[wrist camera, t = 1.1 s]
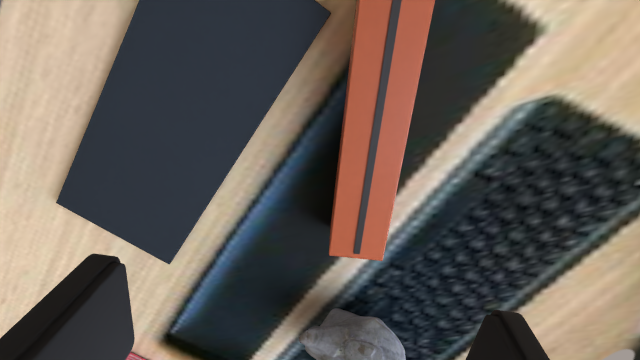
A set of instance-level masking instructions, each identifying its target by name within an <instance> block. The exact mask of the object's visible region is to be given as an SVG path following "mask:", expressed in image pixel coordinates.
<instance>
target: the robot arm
mask: <svg viewBox="0 0 640 360" xmlns="http://www.w3.org/2000/svg"><path fill="white" fill-rule="evenodd" d="M133 344H134V330H133V322H132V314H131V306H130V298H129V290H128V282H127V274H126V267H125V265H124V264H122V263H120V260H119V258H118V257H115V256H107V255H100V254H91V255H90V256H88V257H87V258H86V259H85V260H84V261H83V262H82V263H80V264H79V265H78V266H77V267H76V268H75V269H74V270H73V271H72V272H71V273H70V274H69V275H68V276H67V277H65V278H64V279H63V280H62V281H61V282H60V283H59V284H58V285H57V286H56V287H55V288H54V289H53V290H52V291H51V292H49V293H48V294H47V295H46V296H45V297H44V298H43V299H42V300H41V301H40V302H39V303H38V304H37V305H36V306H34V307H33V308H32V309H31V310H30V311H29V312H28V313H27V314H26V315H25V316H24V317H23V318H22V319H21V320H20V321H18V322H17V323H16V324H15V325H14V326H13V327H12V328H11V329H10V330H9V331H8V332H7V333H6V334H5V335H3V336H2V337H1V338H0V360H126V358H127V357H128V355H129V354H130V352H131V350H132V347H133ZM466 360H550V359H549V358H548V356H547V355H546V353H545V351H544V350H543V348H542V346H541V345H540V343H539V342H538V340H537V338H536V337H535V335H534V334H533V332H532V330H531V329H530V327H529V326H528V324H527V322H526V321H525V319H524V318H523V316H522V315H521V314H519V313H515V312H507V311H500V310H494V311H493V312H492V313H491V315H486V316H485V318H484V320H483V322H482V324H481V327H480V329H479V331H478V333H477V336H476V338H475V340H474V342H473V344H472V347H471V349H470V351H469V353H468V356H467V358H466Z"/></svg>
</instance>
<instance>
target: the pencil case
mask: <svg viewBox="0 0 640 360" xmlns="http://www.w3.org/2000/svg"><path fill="white" fill-rule="evenodd" d="M434 2H435V0H357V3H356V12H355V21H354V29H353V38H352V46H351V55H350V63H349V72H348V81H347V89H346V98H345V106H344V115H343V123H342V132H341V141H340V149H339V158H338V166H337V175H336V183H335V192H334V201H333V209H332V218H331V226H330V244H329V255H331V256H341V257H350V258H360V259H370V260H379V261H382V260H383V256H384V251H385V246H386V241H387V236H388V231H389V226H390V221H391V216H392V211H393V206H394V201H395V196H396V191H397V186H398V181H399V176H400V171H401V166H402V161H403V156H404V151H405V146H406V141H407V136H408V131H409V126H410V121H411V116H412V111H413V106H414V101H415V96H416V91H417V86H418V81H419V77H420V72H421V67H422V62H423V57H424V52H425V47H426V42H427V37H428V32H429V27H430V22H431V17H432V12H433V7H434Z"/></svg>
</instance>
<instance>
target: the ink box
mask: <svg viewBox="0 0 640 360" xmlns="http://www.w3.org/2000/svg"><path fill="white" fill-rule="evenodd" d="M126 360H146V359H144V358H142V357H140V356H138V355H135V354H133V353H131V352H130V354H129V355H128V357H127V358H126Z"/></svg>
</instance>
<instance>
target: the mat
mask: <svg viewBox="0 0 640 360" xmlns="http://www.w3.org/2000/svg"><path fill="white" fill-rule="evenodd" d="M330 14H331V13H330V12H329V11H328V10H326V9H325V8H324V7H323V6H321V5H320V4H319V3H317V2H316V1H315V0H139V3H138V5H137V7H136V10H135V12H134V15H133V17H132V20H131V22H130V25H129V27H128V29H127V32H126V34H125V37H124V39H123V42H122V44H121V46H120V49H119V51H118V54H117V56H116V59H115V61H114V63H113V66H112V68H111V71H110V73H109V76H108V78H107V80H106V83H105V85H104V88H103V90H102V93H101V95H100V97H99V100H98V102H97V105H96V107H95V110H94V112H93V114H92V117H91V119H90V122H89V124H88V127H87V129H86V132H85V134H84V136H83V139H82V141H81V144H80V146H79V149H78V151H77V153H76V156H75V158H74V161H73V163H72V166H71V168H70V170H69V173H68V175H67V178H66V180H65V183H64V185H63V187H62V190H61V192H60V195H59V197H58V200H57V202H56V203H57V204H59V205H61V206H63V207H65V208H66V209H68V210H70V211H72V212H74V213H76V214H77V215H79V216H81V217H83V218H85V219H87V220H88V221H90V222H92V223H94V224H96V225H98V226H100V227H101V228H103V229H105V230H107V231H109V232H111V233H112V234H114V235H116V236H118V237H120V238H122V239H123V240H125V241H127V242H129V243H131V244H133V245H134V246H136V247H138V248H140V249H142V250H144V251H146V252H147V253H149V254H151V255H153V256H155V257H157V258H158V259H160V260H162V261H164V262H166V263H168V264H170V263H171V261H172V260H173V258H174V257H175V255H176V254H177V252H178V251H179V249H180V247H181V246H182V244H183V243H184V241H185V240H186V238H187V237H188V235H189V233H190V232H191V230H192V229H193V227H194V226H195V224H196V223H197V221H198V219H199V218H200V216H201V215H202V213H203V212H204V210H205V209H206V207H207V205H208V204H209V202H210V201H211V199H212V198H213V196H214V195H215V193H216V191H217V190H218V188H219V187H220V185H221V184H222V182H223V181H224V179H225V177H226V176H227V174H228V173H229V171H230V170H231V168H232V166H233V165H234V163H235V162H236V160H237V159H238V157H239V156H240V154H241V152H242V151H243V149H244V148H245V146H246V145H247V143H248V142H249V140H250V138H251V137H252V135H253V134H254V132H255V131H256V129H257V128H258V126H259V124H260V123H261V121H262V120H263V118H264V117H265V115H266V114H267V112H268V110H269V109H270V107H271V106H272V104H273V103H274V101H275V100H276V98H277V96H278V95H279V93H280V92H281V90H282V89H283V87H284V85H285V84H286V82H287V81H288V79H289V78H290V76H291V75H292V73H293V71H294V70H295V68H296V67H297V65H298V64H299V62H300V61H301V59H302V57H303V56H304V54H305V53H306V51H307V50H308V48H309V47H310V45H311V43H312V42H313V40H314V39H315V37H316V36H317V34H318V33H319V31H320V29H321V28H322V26H323V25H324V23H325V22H326V20H327V19H328V17H329V15H330Z"/></svg>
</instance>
